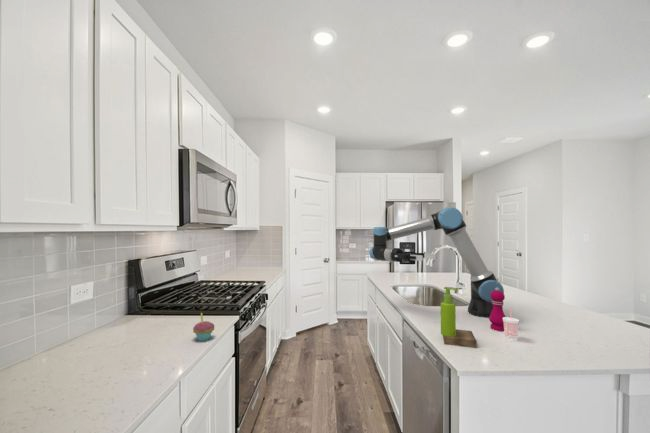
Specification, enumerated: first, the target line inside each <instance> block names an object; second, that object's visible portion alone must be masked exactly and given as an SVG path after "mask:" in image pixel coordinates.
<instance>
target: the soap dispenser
mask: <svg viewBox="0 0 650 433" xmlns="http://www.w3.org/2000/svg"><path fill="white" fill-rule="evenodd" d="M443 289H444V290H445V294H443V301H441V302H440V334H441V336H442V337H443V336H447V337H455V336H456V328H457V327H456V326H457V325H456V321H457V320H456V319H457V318H456V303H454V302H453V295H451V290H452V291H458V290H459V289H458V288H455V287H450V286H445V287H443Z"/></svg>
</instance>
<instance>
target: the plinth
mask: <svg viewBox="0 0 650 433" xmlns="http://www.w3.org/2000/svg"><path fill="white" fill-rule="evenodd" d="M442 340H443V344H444V345H447V346H458V347H464V348H471V349H473V348H474V349H477V340H476V337H475V335H474V333H473V331H472V330H467V329H456V336H455V337H447V336H443V335H442Z"/></svg>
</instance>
